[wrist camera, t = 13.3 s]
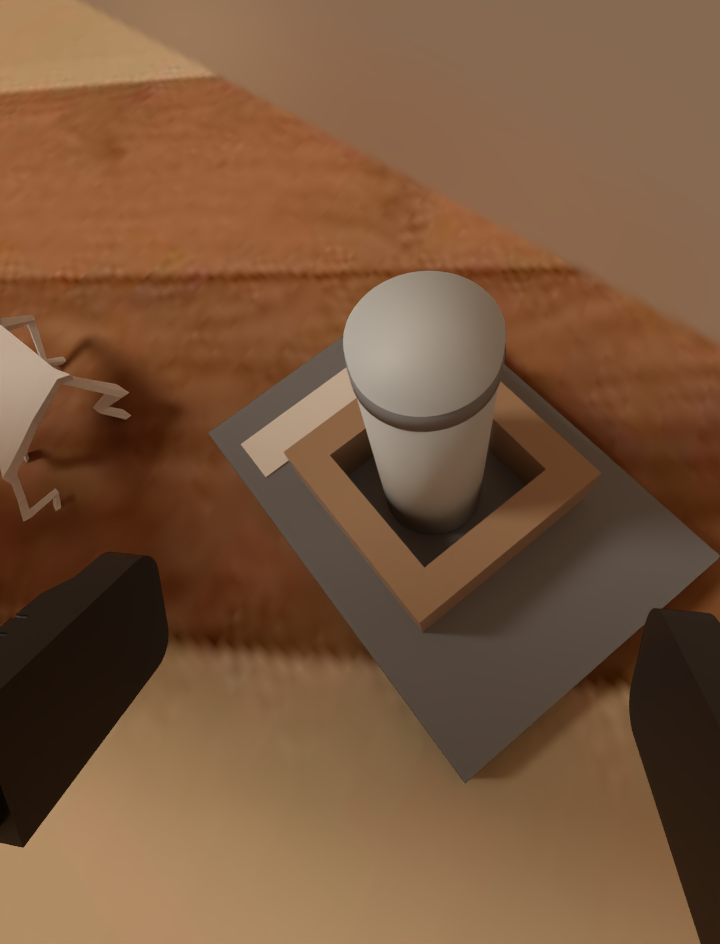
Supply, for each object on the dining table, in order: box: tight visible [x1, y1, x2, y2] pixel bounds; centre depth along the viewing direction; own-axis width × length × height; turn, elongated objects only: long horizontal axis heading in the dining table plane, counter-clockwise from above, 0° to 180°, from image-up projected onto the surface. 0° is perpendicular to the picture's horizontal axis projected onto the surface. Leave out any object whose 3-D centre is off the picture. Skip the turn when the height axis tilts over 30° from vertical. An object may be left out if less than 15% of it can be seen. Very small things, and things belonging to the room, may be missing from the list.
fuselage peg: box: [343, 271, 506, 535], centre depth 20 cm, size 4×4×12 cm
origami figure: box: [0, 315, 131, 522], centre depth 30 cm, size 12×8×5 cm
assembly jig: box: [208, 337, 720, 783], centre depth 25 cm, size 20×14×4 cm
